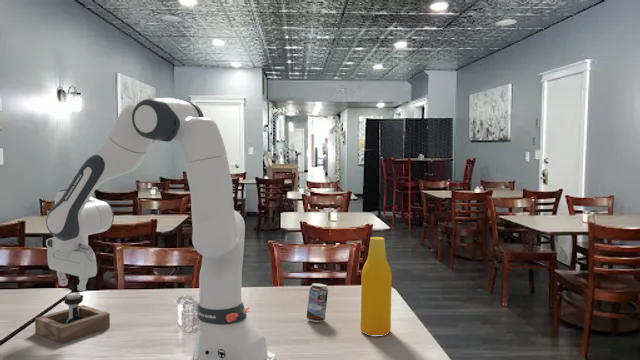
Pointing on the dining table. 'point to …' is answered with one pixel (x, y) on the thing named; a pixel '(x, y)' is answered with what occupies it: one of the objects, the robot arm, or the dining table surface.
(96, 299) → the dining table surface
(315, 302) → the beverage can
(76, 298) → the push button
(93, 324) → the wooden tray
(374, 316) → the beer bottle
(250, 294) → the dining table surface
